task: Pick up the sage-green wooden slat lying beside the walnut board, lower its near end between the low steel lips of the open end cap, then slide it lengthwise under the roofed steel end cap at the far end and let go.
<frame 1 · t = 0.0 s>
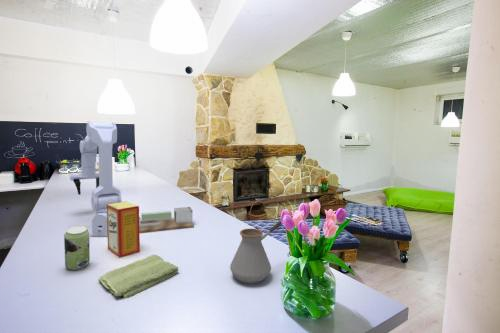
hand: (88, 193, 129), 11 cm above the worktop, tool pointing down, fingers open, 7 cm apart
end caps: (165, 217, 116), on the board, point 4 cm above the worktop
board: (165, 225, 116), on the worktop
washcloth: (140, 280, 73), on the worktop
baking soda box: (123, 251, 90), on the worktop
coffee pot: (263, 271, 78), on the worktop
beverage can: (78, 267, 78), on the worktop
slat: (156, 220, 125), on the worktop
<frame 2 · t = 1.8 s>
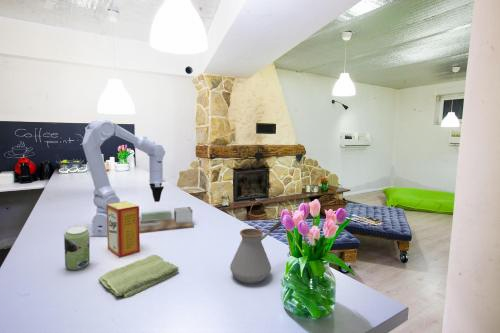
hand: (156, 199, 124), 9 cm above the worktop, tool pointing down, fingers open, 7 cm apart
nothing on the worktop moved.
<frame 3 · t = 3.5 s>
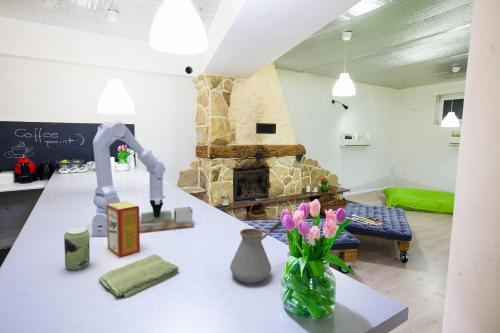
hand: (156, 216, 125), 2 cm above the worktop, tool pointing down, fingers closed on slat, 3 cm apart
slat: (156, 219, 125), on the worktop, touching gripper
everything else where it was.
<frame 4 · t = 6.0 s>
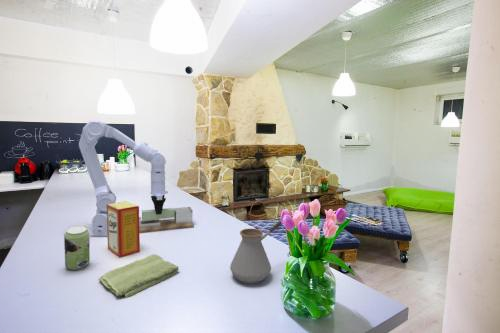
hand: (158, 213, 114), 6 cm above the worktop, tool pointing down, fingers closed on slat, 3 cm apart
slat: (158, 217, 115), point 4 cm above the worktop, touching gripper
everything else where it was.
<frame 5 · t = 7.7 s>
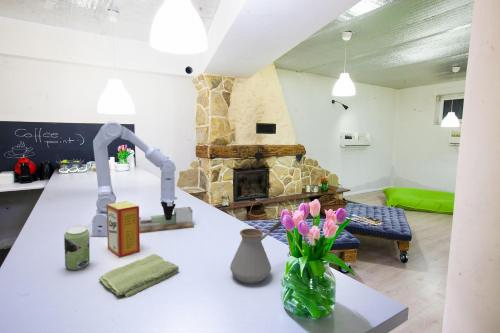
hand: (168, 218, 116), 3 cm above the worktop, tool pointing down, fingers closed on slat, 3 cm apart
slat: (167, 223, 116), point 1 cm above the worktop, touching board, gripper
everything else where it was.
when the fingers open (3 cm above the worktop, at t = 8.5 s): slat stays where it is, resting on board.
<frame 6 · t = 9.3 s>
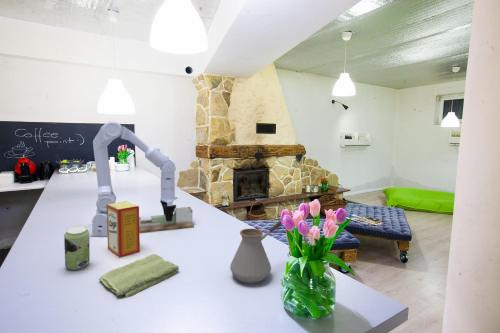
hand: (168, 218, 116), 3 cm above the worktop, tool pointing down, fingers open, 7 cm apart
slat: (167, 223, 116), point 1 cm above the worktop, touching board
everything else where it was.
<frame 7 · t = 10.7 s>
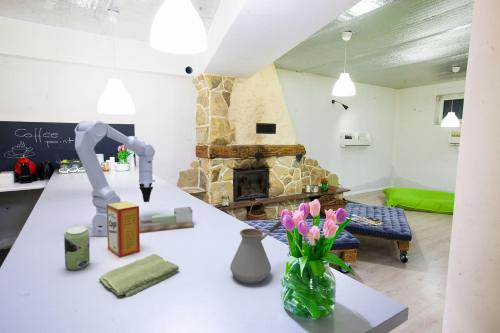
hand: (146, 200, 123), 9 cm above the worktop, tool pointing down, fingers open, 7 cm apart
nothing on the worktop moved.
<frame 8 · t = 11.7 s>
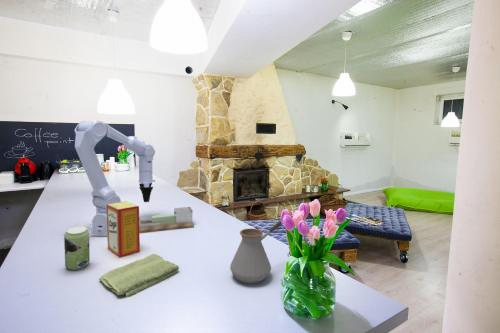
hand: (146, 200, 123), 9 cm above the worktop, tool pointing down, fingers open, 7 cm apart
nothing on the worktop moved.
at the end: slat 1.1 cm from the target spot on the board, point 1.0 cm above the board's base; slat tilted 0°; the gripper is holding nothing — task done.
